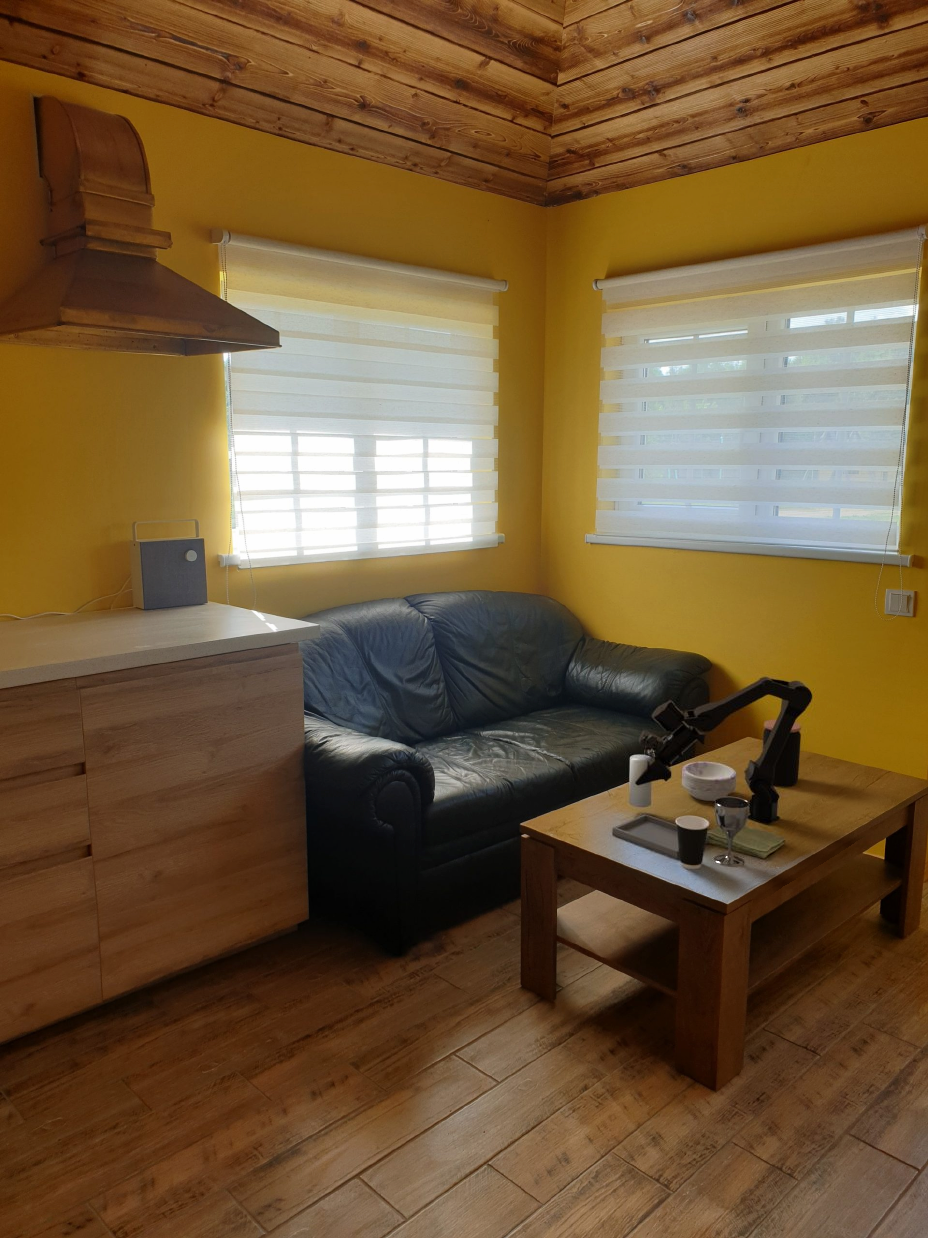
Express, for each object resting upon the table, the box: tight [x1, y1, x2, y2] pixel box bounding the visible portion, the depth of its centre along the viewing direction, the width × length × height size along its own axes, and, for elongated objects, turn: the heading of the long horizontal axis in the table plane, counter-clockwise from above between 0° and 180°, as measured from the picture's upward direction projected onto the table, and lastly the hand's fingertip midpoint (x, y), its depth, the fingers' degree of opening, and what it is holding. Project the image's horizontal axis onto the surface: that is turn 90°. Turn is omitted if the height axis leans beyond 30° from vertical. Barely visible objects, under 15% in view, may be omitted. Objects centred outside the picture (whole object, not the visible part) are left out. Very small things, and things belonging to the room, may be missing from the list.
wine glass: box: [713, 795, 750, 868], centre depth 225 cm, size 8×8×15 cm
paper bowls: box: [681, 761, 737, 802], centre depth 268 cm, size 15×15×8 cm
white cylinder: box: [628, 754, 653, 808], centre depth 254 cm, size 6×6×13 cm
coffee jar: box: [761, 719, 802, 788], centre depth 279 cm, size 11×11×18 cm
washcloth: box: [707, 824, 786, 860], centre depth 236 cm, size 13×18×3 cm
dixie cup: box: [675, 815, 710, 870], centre depth 223 cm, size 8×8×11 cm
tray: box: [611, 813, 710, 860], centre depth 238 cm, size 20×14×2 cm
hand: (635, 780), depth 254 cm, fingers closed on white cylinder, 6 cm apart
